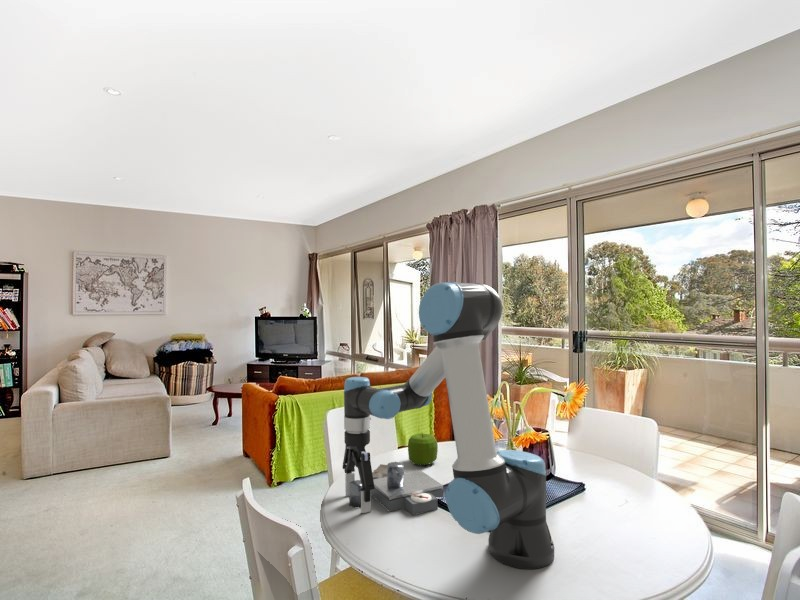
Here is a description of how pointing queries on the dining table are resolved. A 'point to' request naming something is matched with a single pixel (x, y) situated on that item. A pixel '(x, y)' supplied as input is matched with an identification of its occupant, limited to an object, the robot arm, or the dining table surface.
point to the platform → (408, 485)
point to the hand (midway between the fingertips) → (357, 503)
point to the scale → (411, 501)
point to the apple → (422, 449)
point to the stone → (380, 472)
